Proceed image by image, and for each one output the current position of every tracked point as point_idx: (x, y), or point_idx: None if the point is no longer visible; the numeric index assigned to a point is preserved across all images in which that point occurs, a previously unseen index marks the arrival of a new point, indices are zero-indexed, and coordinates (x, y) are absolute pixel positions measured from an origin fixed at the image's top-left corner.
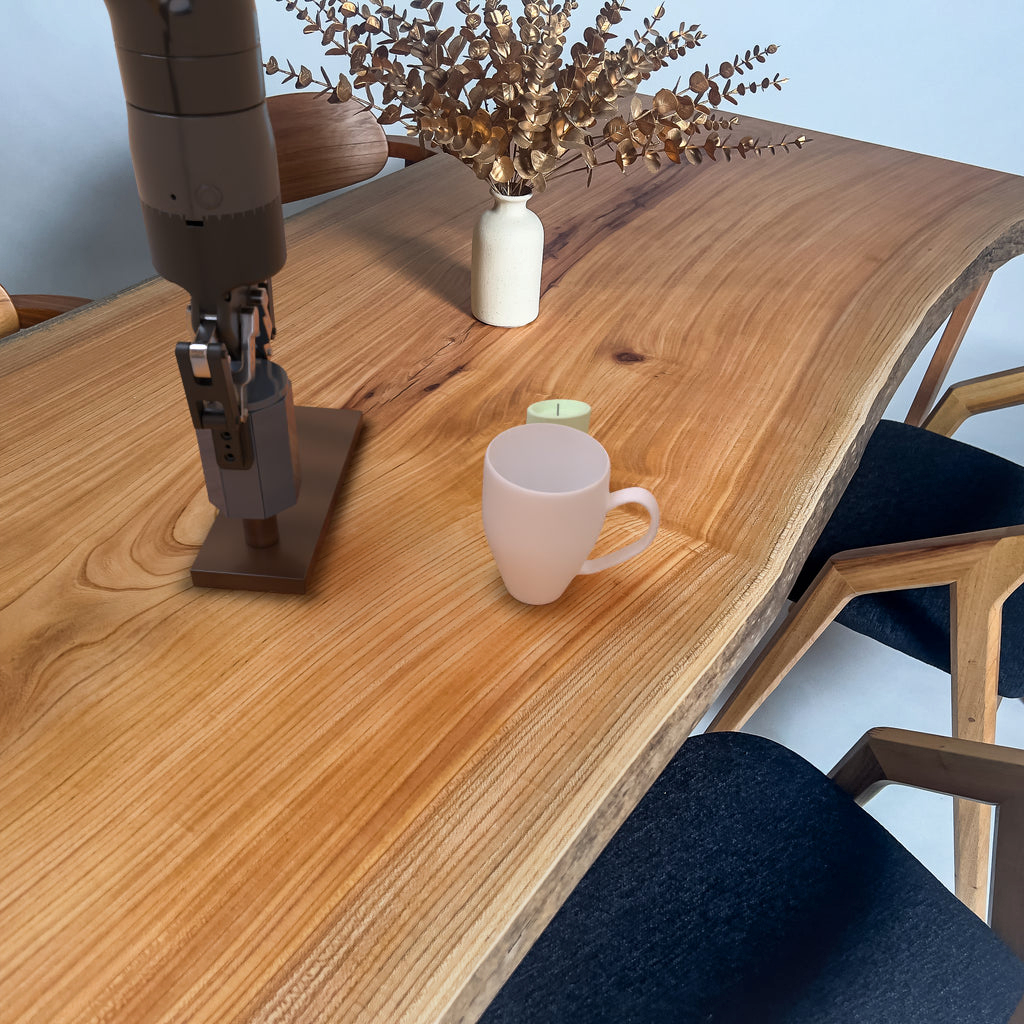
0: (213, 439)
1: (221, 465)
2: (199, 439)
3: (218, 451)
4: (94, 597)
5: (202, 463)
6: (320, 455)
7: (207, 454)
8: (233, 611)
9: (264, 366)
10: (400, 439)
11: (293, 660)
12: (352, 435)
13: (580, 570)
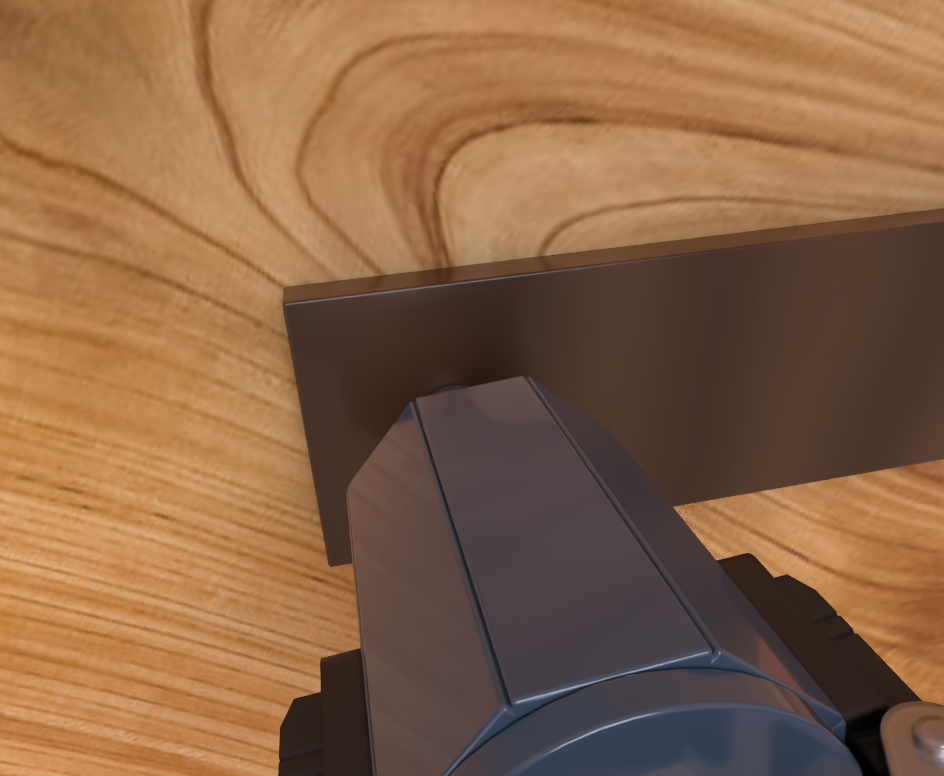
0: (326, 761)
1: (290, 709)
2: (442, 562)
3: (280, 773)
4: (155, 33)
5: (427, 485)
6: (803, 426)
7: (406, 567)
8: (228, 416)
9: None
10: (898, 525)
11: (126, 589)
12: (887, 467)
13: None
